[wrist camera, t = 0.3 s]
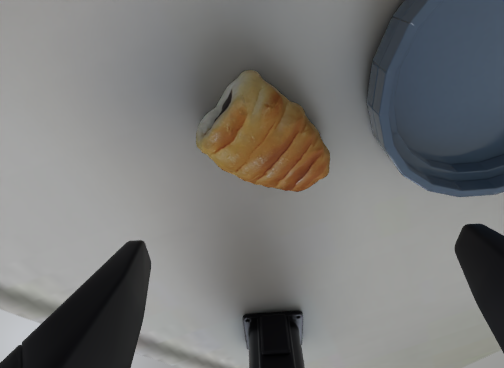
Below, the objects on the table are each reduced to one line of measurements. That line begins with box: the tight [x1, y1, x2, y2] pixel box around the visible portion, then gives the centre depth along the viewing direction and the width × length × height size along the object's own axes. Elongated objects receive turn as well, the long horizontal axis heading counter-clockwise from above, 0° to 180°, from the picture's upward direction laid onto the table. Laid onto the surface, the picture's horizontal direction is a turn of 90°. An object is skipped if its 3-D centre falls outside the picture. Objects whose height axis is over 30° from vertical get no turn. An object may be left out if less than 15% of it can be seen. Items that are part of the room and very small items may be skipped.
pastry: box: [196, 70, 330, 192], centre depth 22 cm, size 9×7×4 cm
